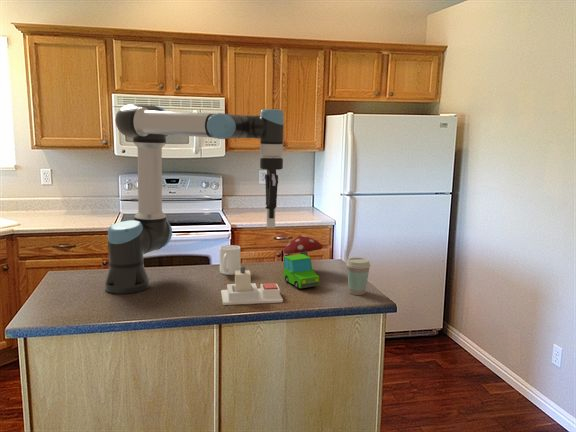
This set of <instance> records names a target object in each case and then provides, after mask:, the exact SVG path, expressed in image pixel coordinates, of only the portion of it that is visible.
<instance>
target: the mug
mask: <svg viewBox="0 0 576 432" xmlns="http://www.w3.org/2000/svg"><path fill="white" fill-rule="evenodd" d="M240 267H241V246H240V245H235V244H234V245H233V244H226V245H221V246H219V273H220V274H221V275H227V276H233V275H234V276H235V271H240Z"/></svg>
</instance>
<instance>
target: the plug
mask: <svg viewBox="0 0 576 432" xmlns="http://www.w3.org/2000/svg"><path fill="white" fill-rule="evenodd" d="M251 274H252V273H251V271H250V270H249V269H247V270H246V266H245V265H244V266H243V265H242V266H241V265H240V271H235V275H234V284H235V292H244V291H251V283H252V281H251V280H252V279H251V278H252V277H251V276H252V275H251Z"/></svg>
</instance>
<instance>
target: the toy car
mask: <svg viewBox="0 0 576 432" xmlns="http://www.w3.org/2000/svg"><path fill="white" fill-rule="evenodd" d="M308 256H309V255H308ZM308 256H306V255H304V254H300V253H298V254H291V255H285V256H283V280H285V284H292V285H294V289H296V290H300V289H305V288H310V287H311V288H315V287H318V286H320V276H319V275H318V274H317V273H316V272H315V268H314V269H313V265H312V258H311V257H310V256H309V257H308Z"/></svg>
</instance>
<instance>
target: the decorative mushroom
mask: <svg viewBox="0 0 576 432" xmlns="http://www.w3.org/2000/svg"><path fill="white" fill-rule="evenodd" d="M323 247H324V245H322V243H320V242H319V241H318V240H317V239H314V238H312V237H309V236H307V235H301V234H300V235H298V236H297V237H295V238H293V239H292V240H291V241H289V242H288V243H287V244H286V245H285V247H284V248H283V253H284V254H288V255H289V254H291V255H294V254H304V255H306V256H308V257H310V256H309V254H308V253H309V252H314V251H321V250H322V249H323Z"/></svg>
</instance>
